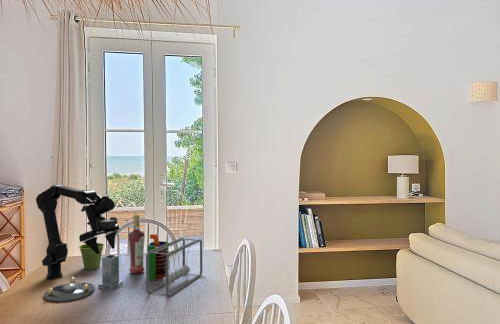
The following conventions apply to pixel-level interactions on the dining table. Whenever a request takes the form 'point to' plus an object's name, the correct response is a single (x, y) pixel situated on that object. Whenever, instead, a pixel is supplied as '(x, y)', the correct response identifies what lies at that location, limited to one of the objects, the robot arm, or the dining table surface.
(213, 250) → the dining table surface
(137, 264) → the liquor
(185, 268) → the newton's cradle
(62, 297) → the disc
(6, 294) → the dining table surface
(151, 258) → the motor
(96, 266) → the plant pot
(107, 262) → the square pipe section
